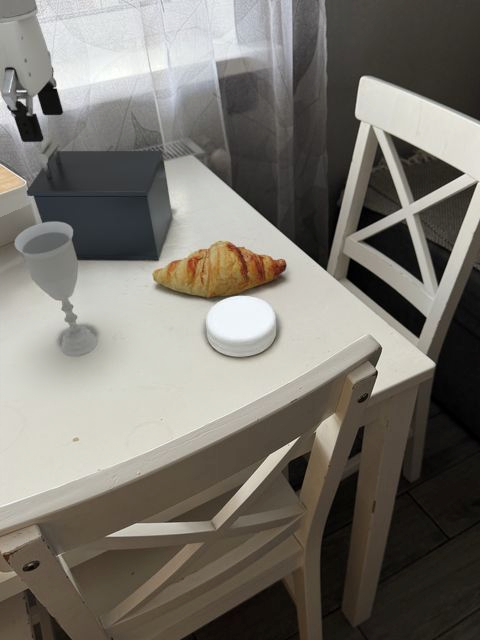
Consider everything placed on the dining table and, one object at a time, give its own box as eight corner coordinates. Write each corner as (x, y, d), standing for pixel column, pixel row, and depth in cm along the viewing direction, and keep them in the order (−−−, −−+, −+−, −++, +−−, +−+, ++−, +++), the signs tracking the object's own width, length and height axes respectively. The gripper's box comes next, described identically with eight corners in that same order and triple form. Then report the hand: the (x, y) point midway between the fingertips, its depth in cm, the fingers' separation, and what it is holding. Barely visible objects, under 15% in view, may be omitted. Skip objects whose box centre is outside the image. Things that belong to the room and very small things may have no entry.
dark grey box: (54, 260, 101) (33, 196, 93) (77, 216, 111) (60, 155, 103) (158, 260, 100) (147, 196, 92) (172, 216, 110) (163, 155, 102)
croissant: (157, 313, 95) (147, 293, 88) (154, 257, 98) (145, 233, 91) (288, 301, 96) (290, 280, 88) (282, 245, 99) (283, 221, 91)
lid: (27, 196, 93) (17, 165, 89) (55, 155, 103) (46, 126, 99) (147, 196, 92) (141, 165, 88) (163, 155, 102) (158, 125, 98)
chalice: (79, 321, 89) (46, 216, 77) (114, 336, 87) (85, 230, 74) (43, 351, 85) (1, 244, 72) (78, 367, 82) (41, 260, 70)
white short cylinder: (215, 309, 90) (213, 291, 88) (280, 315, 89) (280, 296, 87) (200, 355, 83) (197, 336, 81) (270, 361, 82) (270, 343, 79)
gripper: (3, -13, 87) (38, 105, 99) (-48, 22, 74) (-1, 152, 86) (53, -14, 86) (82, 104, 98) (10, 21, 74) (49, 152, 86)
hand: (43, 127), depth 92 cm, fingers open, 9 cm apart
